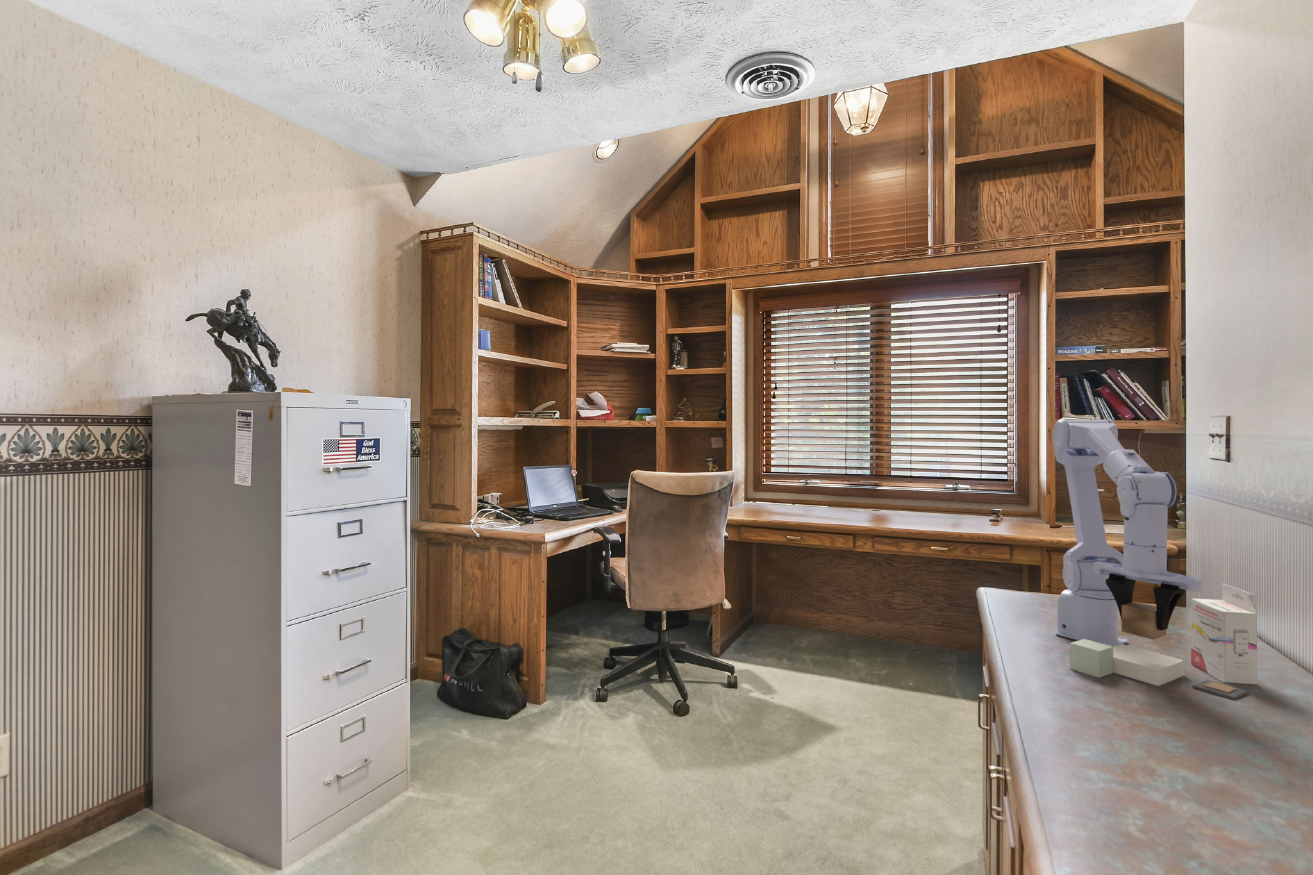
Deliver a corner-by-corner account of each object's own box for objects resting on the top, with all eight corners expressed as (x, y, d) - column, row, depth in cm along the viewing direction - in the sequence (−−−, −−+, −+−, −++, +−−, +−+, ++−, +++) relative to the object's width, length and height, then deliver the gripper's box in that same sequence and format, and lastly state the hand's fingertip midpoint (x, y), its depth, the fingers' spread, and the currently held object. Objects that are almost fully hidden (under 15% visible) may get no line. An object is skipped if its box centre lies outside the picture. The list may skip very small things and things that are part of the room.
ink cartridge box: (1188, 663, 108) (1189, 580, 108) (1221, 666, 107) (1222, 582, 107) (1222, 683, 99) (1223, 592, 99) (1258, 685, 98) (1259, 594, 98)
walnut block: (1121, 631, 104) (1121, 605, 104) (1134, 627, 106) (1135, 601, 106) (1153, 639, 100) (1153, 612, 100) (1166, 635, 102) (1166, 608, 102)
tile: (1192, 687, 97) (1192, 683, 97) (1206, 681, 100) (1206, 678, 100) (1234, 699, 93) (1234, 695, 93) (1247, 693, 95) (1247, 689, 95)
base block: (1095, 669, 106) (1096, 652, 106) (1122, 660, 110) (1122, 643, 110) (1158, 688, 98) (1158, 669, 98) (1183, 678, 102) (1184, 660, 102)
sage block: (1069, 669, 105) (1070, 642, 105) (1083, 664, 107) (1084, 638, 107) (1099, 678, 101) (1099, 651, 101) (1113, 673, 103) (1113, 646, 103)
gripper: (1084, 539, 107) (1083, 616, 107) (1187, 554, 94) (1186, 641, 95) (1105, 536, 110) (1104, 610, 111) (1207, 550, 98) (1206, 634, 98)
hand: (1143, 624), depth 103 cm, fingers closed on walnut block, 4 cm apart
